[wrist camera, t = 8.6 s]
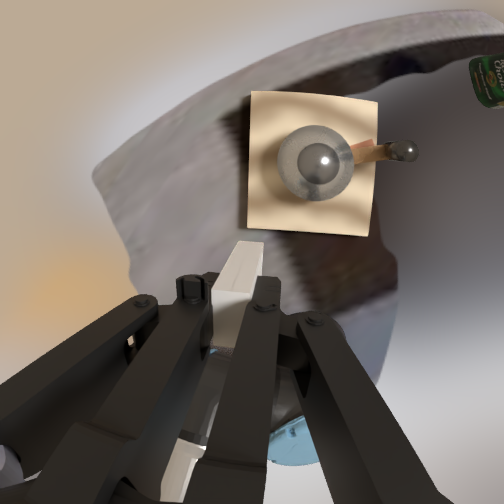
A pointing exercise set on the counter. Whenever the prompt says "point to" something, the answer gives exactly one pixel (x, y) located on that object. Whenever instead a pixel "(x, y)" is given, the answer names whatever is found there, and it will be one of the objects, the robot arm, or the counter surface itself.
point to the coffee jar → (488, 79)
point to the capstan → (329, 161)
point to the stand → (266, 171)
